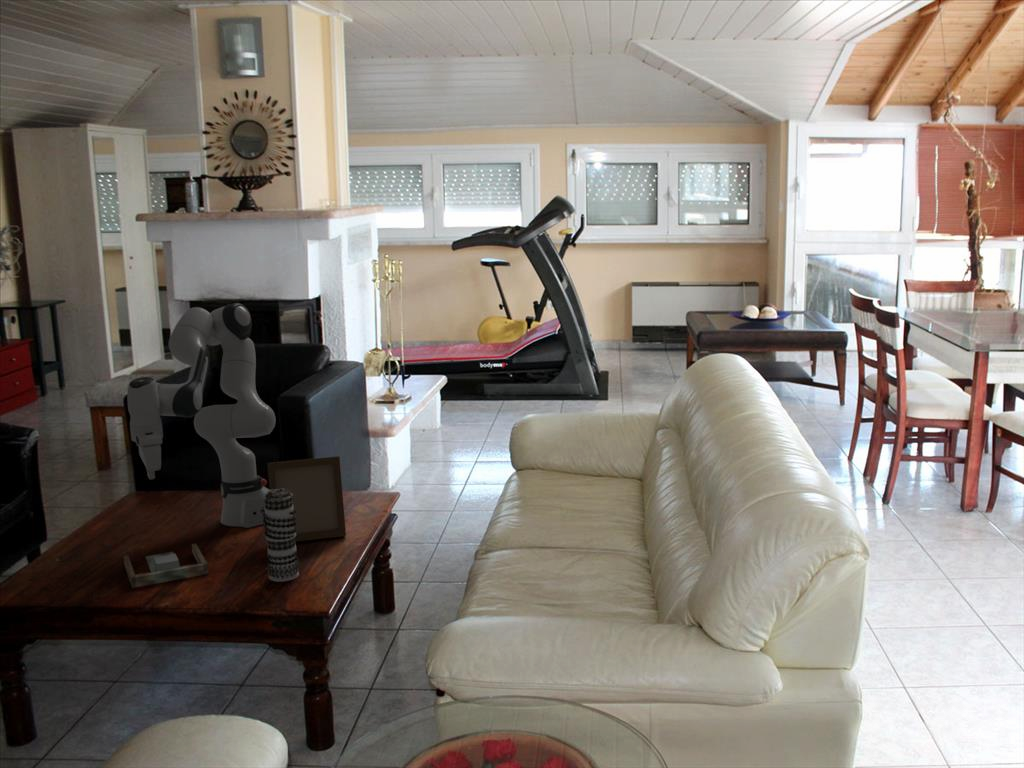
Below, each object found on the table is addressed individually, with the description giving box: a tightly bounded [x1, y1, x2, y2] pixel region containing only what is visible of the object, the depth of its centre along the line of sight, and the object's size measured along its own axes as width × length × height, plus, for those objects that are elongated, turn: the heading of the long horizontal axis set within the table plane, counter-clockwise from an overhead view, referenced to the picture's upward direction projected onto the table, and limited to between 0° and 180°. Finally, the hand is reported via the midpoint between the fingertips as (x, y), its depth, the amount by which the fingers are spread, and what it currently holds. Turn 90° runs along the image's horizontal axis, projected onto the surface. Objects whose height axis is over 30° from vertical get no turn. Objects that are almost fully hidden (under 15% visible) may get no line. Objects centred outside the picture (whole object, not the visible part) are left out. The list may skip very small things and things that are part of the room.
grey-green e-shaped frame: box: [123, 543, 209, 589], centre depth 288 cm, size 20×24×3 cm
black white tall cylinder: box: [262, 488, 300, 583], centre depth 277 cm, size 9×9×25 cm
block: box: [154, 553, 180, 572], centre depth 284 cm, size 6×6×4 cm
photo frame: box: [266, 455, 347, 543], centre depth 310 cm, size 15×22×25 cm
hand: (151, 478), depth 295 cm, fingers closed
